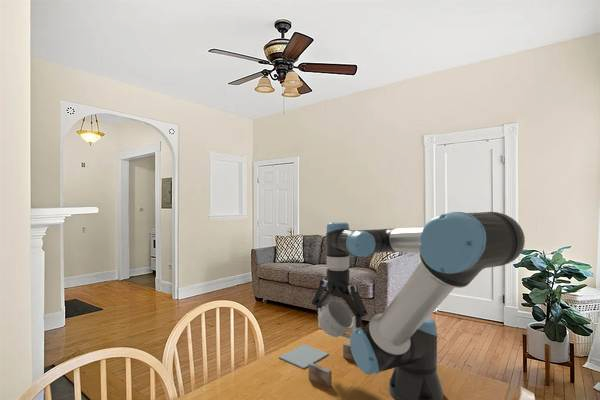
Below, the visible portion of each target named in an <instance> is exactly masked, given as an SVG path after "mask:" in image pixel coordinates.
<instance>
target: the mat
mask: <svg viewBox="0 0 600 400" xmlns="http://www.w3.org/2000/svg"><path fill="white" fill-rule="evenodd" d="M329 355H330V353H328V352H326V351H324V350H321V349H319V348H315V347H313V346H310V345H308V344H305V343H304V344H302V345H299V346H298V347H296V348H293V349H292V350H290V351H287V352H285V353H283V354H281V355H280V356H278V358H279V360H282V361H284V362H287V363H289V364H292V365H293V366H296V367H297V368H301V369H303V370H305V369H308V368H309V364H310V363H314V364H316V363H318V361H320V360H322V359H324V358H325V357H327V356H329Z"/></svg>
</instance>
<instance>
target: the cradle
mask: <svg viewBox="0 0 600 400" xmlns="http://www.w3.org/2000/svg"><path fill="white" fill-rule="evenodd" d="M342 348H343V349H342V357H343V358H345V359H347V360H350V361H352V362H355V360H354V358H353V355H352V351H351V346H350V343H347V342H346V343H343V344H342ZM332 373H333V371H332V370H331V369H329V368H326V367H324V366H321V365H318V364H316V363H310V364H309V367H308V379H309V380H311V381H313V382H315V383H317V384H320V385H322V386H324V387H327V388H328V389H329V388H331V387H332V385H333V384H332V383H333V381H332V380H333V379H332Z"/></svg>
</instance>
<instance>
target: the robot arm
mask: <svg viewBox="0 0 600 400" xmlns="http://www.w3.org/2000/svg"><path fill="white" fill-rule="evenodd" d="M325 236H326V241H325V242H326V268H327V269H326V278H325V279H321V280H320V281H319V286H318V288H317V290H316V292H315V295H314V297H313V299H312V301H311V304H312V305H313V306H315V307H316V316H317V319H318V321H317V322H318V323H317V324H318V325H317V328H321V326H320V323H319V314H320V312H321V310H322V309H323V308H324V307H325V306H324V305H325V303H327V301H328V300H329V299H330V298H331V297H337V298H342V300H344V301H345V303H346V305H347V306H348V308H349V310H351V313H352V315H354V316H353V326H352V327H353V331H351V334H350V339H349V344H350V346H351V351H352V355H353V358H354V360H355V361H354V362H355V364H356V365H357V367H358V368H359V369H360V371H362V372H363V373H364V374H366V375H374V374H379V373H381V372H385V371H388V370H392V369H393V370H392V372H391V376H390V379H389V382H388V392H389V395H390V397H392V398H393V399H394V400H444V389H443V386H442V384H441V380H440V377H439V374H438V371H437V370H438V367H437V366H438V364H437V363H438V361H437V359H438V355H437V353H438V333H437V331H438V330H437V323H436V322H435V320H434V319H432V318H430V316H431V315H432V314H433V313H434V311H436V309H437V308H438V307H439V306H440V304H442V302H443V301H444V300H445V299H446V298H447V297H448V296H449V295H450V293H451V292H452V291H453V290H454V289H455V288H456V289H457V288H458V289H459V288H460V289H461V288H466V287H467V286H468V285H470V283H471V282H472V281H473V280H474V279H475V278H476V277H477V276H478V274H479V273H480V272H482V271H483V270H484V269H487V268H488V269H489V268H496V267H501V266H505V265H508V264H511V263H512V262H514V261H515V260H517V258H518V257H519V256H520V255H521V254H522V253H523V250H524V248H525V241H526V240H525V239H526V238H525V237H526V236H525V234H524V230H523V229H522V227H521V225H520V223H518V222H517V220H515V219H514V218H512V217H511V216H509V215H507V214H505V213H501V212H497V211H484V212H464V211H463V212H462V211H452V212H447V213H442V214H439V215H436V216H434V217H433V218H431V219H430V220H428V222H426V224H425V225H423V226H422V225H421V226H409V227H397V228H396V227H392V228H390V227H389V228H380V229H379V228H378V229H375V228H374V229H360V230H359V229H358V230H357V229H350V225H349V223H348V222H345V221H344V222H343V221H337V222H336V221H332V222H328V223H327V224H326V232H325ZM380 253H381V254H382V253H413V254H414V253H415V254H419V255H418V256H419V260H420V262H419V264H418V265H417V266H416V268H415V269H414V271H413V272H412V273H411V275H410V276H409V278H408V279H407V280H406V281H405V283H404V284H403V286H402V287H401V288H400V290H399V291H398V293H396V295H395V297H394V298H393V299H392V301H391V302H390V303H389V304H388V306H387V307H386V309H385V310H384V311H383V313H377V314H375V315H373V316H372V317H371V319H370V320H369V321H368V322H367V324H366V325H365V326H364V327H362V326H363V320H362V319H363V318H364V317H366V316H367V315H368V311H367V308H366V307H365V304H364V301H363V300H362V297H361V295H360V292H359V288H358V285H357V284H354V285H350V282H349V281H350V255H352V256H356V257H368V256H370V255H372V254H380ZM326 288H327V289H328V290H326ZM324 292H325V294H324ZM323 294H324V295H323Z"/></svg>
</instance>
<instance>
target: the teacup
mask: <svg viewBox="0 0 600 400" xmlns="http://www.w3.org/2000/svg"><path fill="white" fill-rule="evenodd" d="M323 307H324V308H323V309H322V310H321V312H320V314H319V323H320V326H321V327H320V328H321V330H322V332H324V333H325V334H327V335H328V336H331V337H333V338H338V337H339V338H340V337H342V338H345V339H348V340H350V336H351V334H347V332H350V331H351V332H352V331H353V317H354V316H353V313H352V311H350V308H349V307H347V306H346V305H345V304H344V303H342V302H341V301H340V300H337V299H331V300H329V302H328V303H327V304H325V306H323Z"/></svg>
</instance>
